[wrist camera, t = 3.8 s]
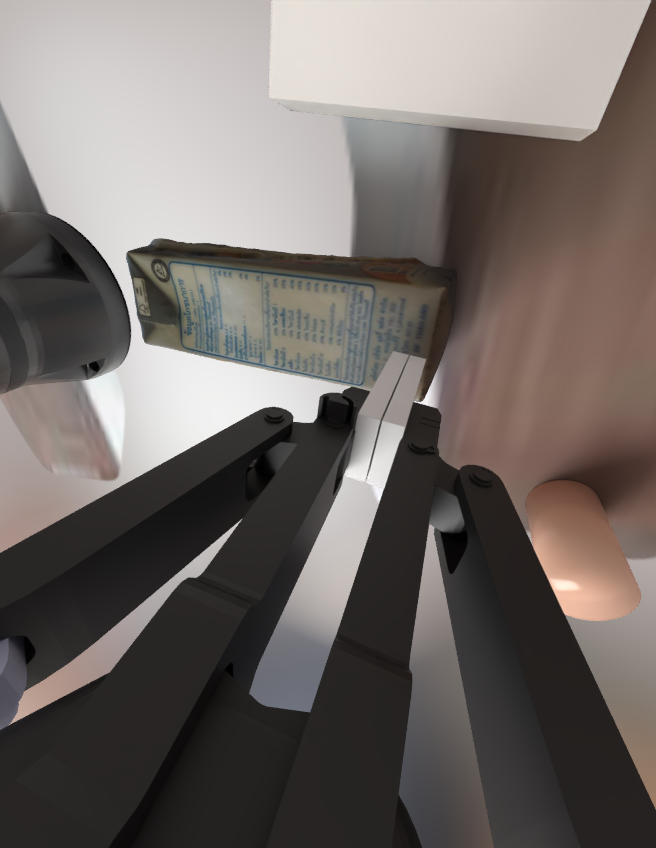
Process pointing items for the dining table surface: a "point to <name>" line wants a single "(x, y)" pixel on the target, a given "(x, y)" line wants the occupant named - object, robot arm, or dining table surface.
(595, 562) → the peach rounded cylinder
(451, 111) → the white flat slab
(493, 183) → the dining table surface
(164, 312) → the beverage carton
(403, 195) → the dining table surface
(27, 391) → the dining table surface
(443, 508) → the robot arm
